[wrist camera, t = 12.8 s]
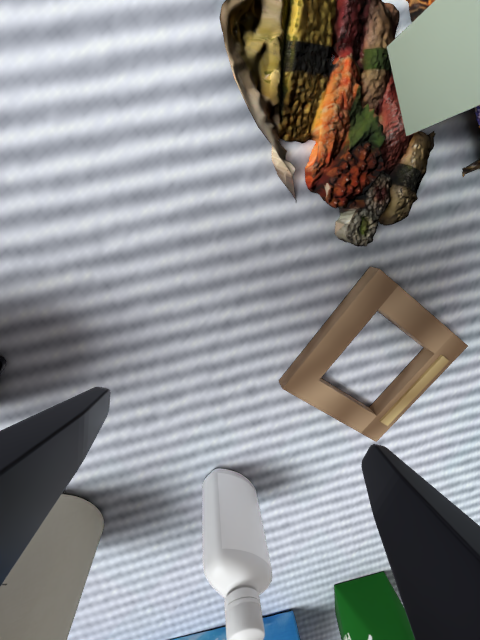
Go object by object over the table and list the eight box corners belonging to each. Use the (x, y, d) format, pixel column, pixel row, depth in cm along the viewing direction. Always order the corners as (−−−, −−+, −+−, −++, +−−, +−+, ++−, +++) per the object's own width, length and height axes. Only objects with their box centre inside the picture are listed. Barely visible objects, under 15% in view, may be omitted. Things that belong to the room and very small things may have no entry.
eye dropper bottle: (240, 456, 25) (270, 639, 14) (258, 493, 27) (298, 680, 16) (197, 473, 25) (194, 671, 14) (219, 508, 27) (232, 706, 16)
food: (318, 278, 21) (339, 287, 18) (181, 3, 15) (174, -66, 11) (567, 122, 20) (642, 99, 16) (532, -252, 14) (641, -413, 10)
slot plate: (278, 380, 23) (283, 390, 22) (369, 266, 20) (381, 269, 19) (368, 432, 26) (377, 443, 25) (455, 340, 24) (470, 346, 23)
